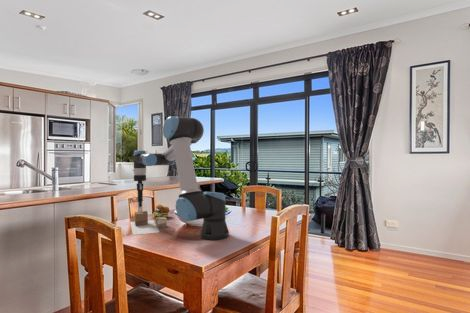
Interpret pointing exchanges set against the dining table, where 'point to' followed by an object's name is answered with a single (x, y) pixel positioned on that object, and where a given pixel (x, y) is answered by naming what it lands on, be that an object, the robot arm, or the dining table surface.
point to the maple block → (161, 222)
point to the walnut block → (141, 218)
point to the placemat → (144, 228)
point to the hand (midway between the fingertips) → (140, 211)
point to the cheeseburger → (160, 212)
